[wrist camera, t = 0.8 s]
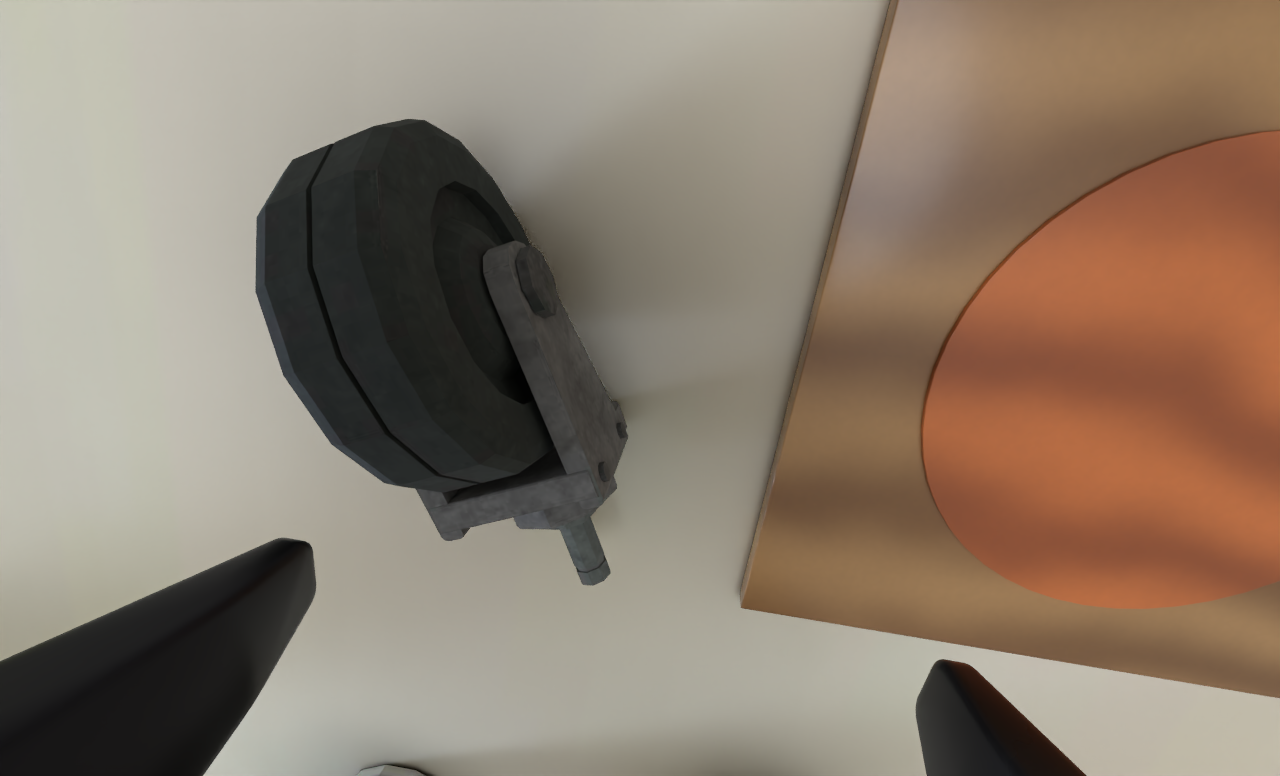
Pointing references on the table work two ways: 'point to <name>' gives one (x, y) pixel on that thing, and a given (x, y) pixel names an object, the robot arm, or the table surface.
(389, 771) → the disposable coffee cup
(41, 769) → the robot arm
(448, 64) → the table surface
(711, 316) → the table surface
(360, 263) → the caster wheel
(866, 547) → the wooden board
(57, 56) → the table surface
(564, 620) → the table surface
